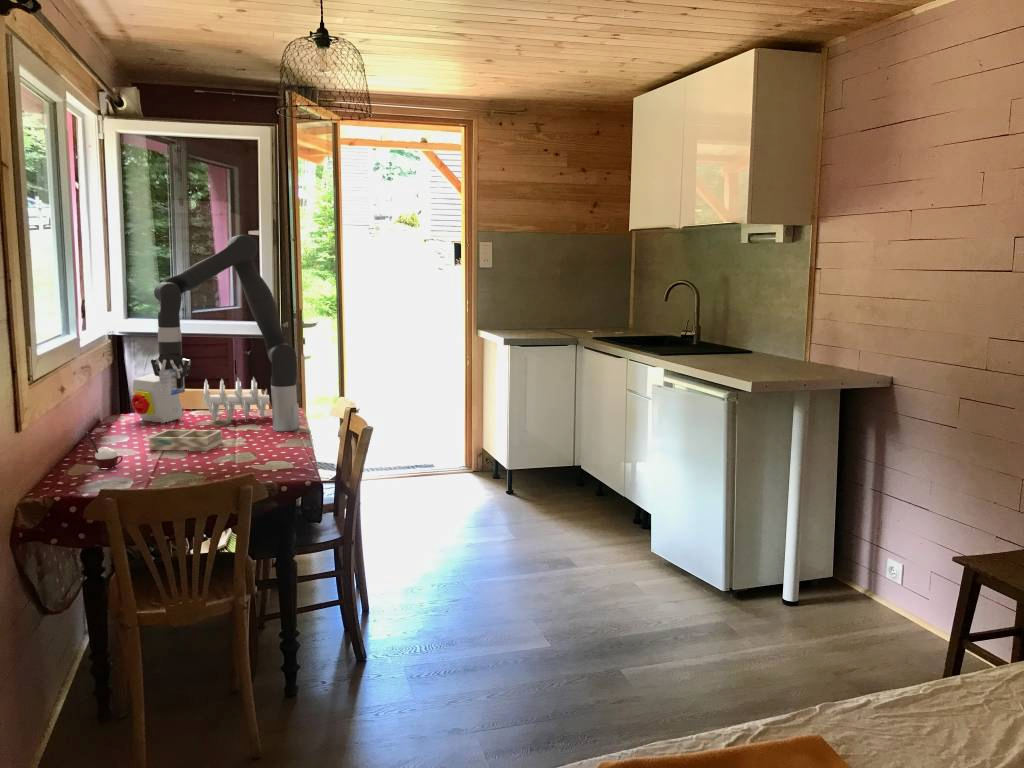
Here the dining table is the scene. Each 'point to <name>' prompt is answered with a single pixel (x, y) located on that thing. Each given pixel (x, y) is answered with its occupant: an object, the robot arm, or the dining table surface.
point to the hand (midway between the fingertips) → (172, 388)
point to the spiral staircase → (235, 400)
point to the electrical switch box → (154, 401)
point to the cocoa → (105, 456)
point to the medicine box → (169, 382)
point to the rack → (186, 440)
